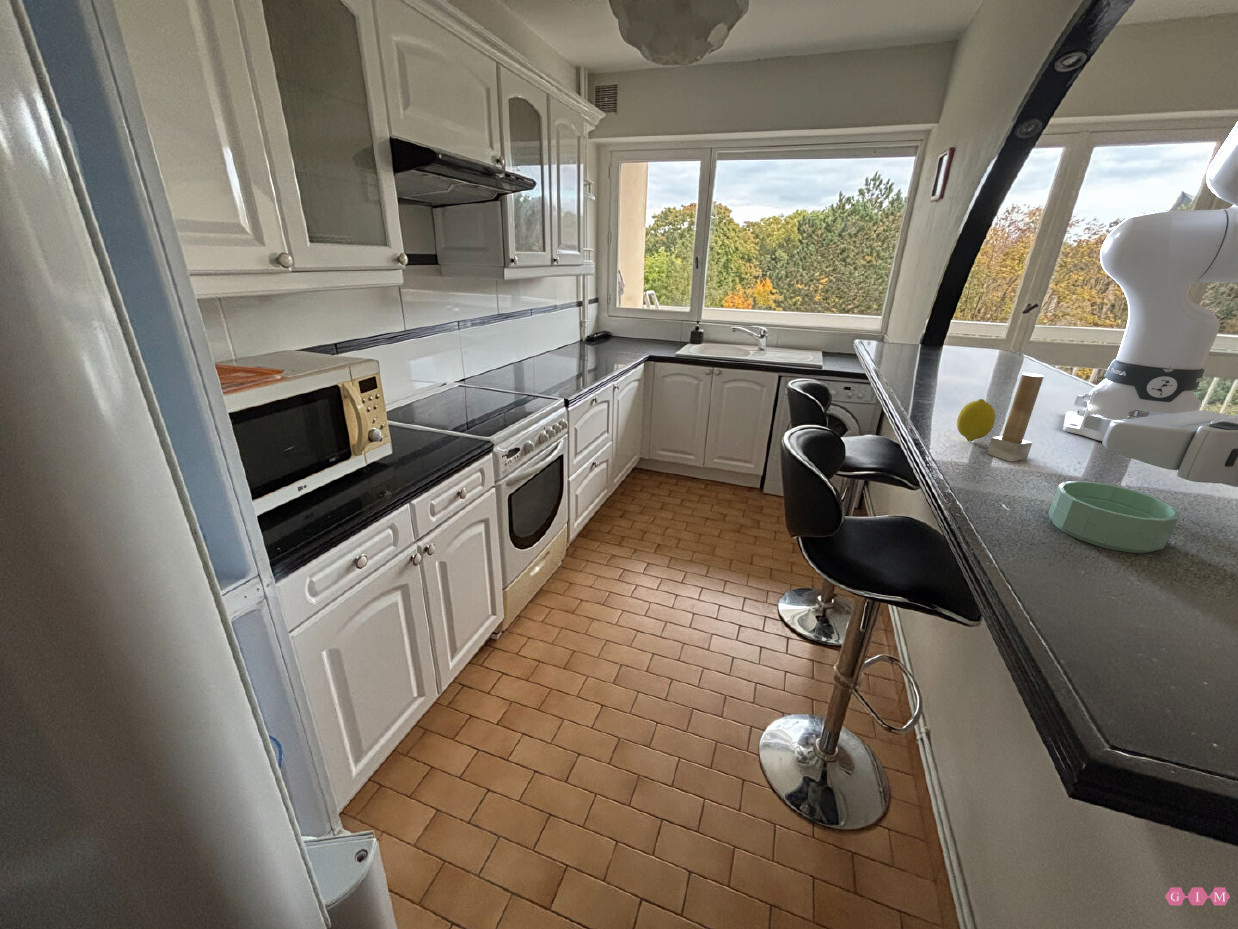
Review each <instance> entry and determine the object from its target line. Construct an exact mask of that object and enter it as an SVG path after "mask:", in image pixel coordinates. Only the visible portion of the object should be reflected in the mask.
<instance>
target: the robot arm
mask: <svg viewBox="0 0 1238 929" xmlns="http://www.w3.org/2000/svg"><path fill="white" fill-rule="evenodd" d="M1205 180H1206V184H1207V187H1208V189H1210V190H1209V191H1211V193H1213V194H1214V195H1215V196H1216V197H1217V198H1219V199H1221V200H1222V201H1224V202H1226V203H1229V204H1230V205H1232V206H1230V207H1227V208H1221V209H1191V210H1190V209H1189V210H1188V209H1187V210H1185V209H1184V210H1163V211H1157V212H1150V213H1145V214H1140V215H1135V216H1130V217H1128V218H1125V219H1124V220H1123V221H1121V222H1120V223H1119V224H1117V225H1116V227H1114V228H1113V229H1112V230H1111V232H1110V233H1109V234H1108V235H1107V236H1106V238H1105V240H1104V241H1103V244H1102V246H1101V249H1100V253H1099V257H1100V264H1101V267H1102V269H1103V271H1104V272H1105V273H1106V274H1107V275H1108V276H1109V277H1111V278H1112V279H1113V281H1115V282H1116V283H1117V284H1118V286H1120V288H1121V289H1122V292H1123V293H1124V296H1125V298H1126V301H1127V307H1128V308H1127V309H1128V316H1127V323H1126V327H1125V330H1124V335H1123V338H1122V340H1121V344H1120V346H1119V349H1118V352H1117V355H1116V358H1114V359H1113V360H1112V361H1111V363H1110V365H1109V366H1107V368H1106V372H1105V374H1104V376H1103V377H1104V379H1103V380H1102V381H1101V382H1099V383H1098V384H1097V385H1096V386H1094V388H1092V389H1091V390H1090V391H1089V392H1088V393H1084V394H1077V395H1076V397H1075V401H1074V405H1073V406H1074V407H1079V409H1078V410H1077V411H1067V412H1066V414H1065V415H1064V420H1063V425H1062V431H1064V432H1068V433H1072V434H1074V435H1075V434H1076V435H1080V436H1083V437H1087V438H1090V439H1093V440H1096V441H1100V442H1102V446H1103V447H1104V448H1106V450H1109V451H1110V452H1113V453H1115V454H1118V455H1121V456H1124V457H1127V458H1129V459H1132V460H1136V461H1139V462H1142V463H1145V464H1147V465H1151V466H1154V467H1158V468H1160V469H1164V470H1165V469H1166V470H1171V471H1177V473H1176V476H1177V477H1178V478H1180V479H1182V480H1183V479H1184V480H1187V481H1189V482H1194V483H1202V484H1203V483H1204V484H1222V485H1226V486H1228V487H1233V488H1238V413H1236V414H1234V415H1229V414H1225V413H1221V412H1215V411H1210V410H1201V407H1202V401H1201V400H1200V399H1199V398H1198V397H1197V396H1196V395H1195V393H1194V392H1195V390H1197V389H1198V388H1199V386H1200V383H1201V382H1202V381H1203V378H1204V373H1205V369H1204V368H1203V367H1204V366H1205V363H1206V360H1207V359H1208V356H1209V353H1210V352H1211V349H1212V347H1213V345H1214V342H1215V340H1216V338H1217V336H1218V334H1219V332H1220V327H1221V326H1220V324H1221V323H1220V320H1219V318H1218V317H1217V315H1216V314H1214V313H1213V312H1212V311H1211V310H1209V309H1207V308H1206V307H1203V306H1202V305H1200V304H1198V303H1195V302H1193V301H1191V300H1190V298H1189V296H1188V287H1189V285H1190V283H1226V284H1238V121H1237V122H1236V123H1235V125H1234V127H1233V128H1232V130H1231V131H1230V133H1229V135H1228V136H1227V137H1226V139H1225V141H1224V142H1223V144H1222V145H1221V147H1220V149H1218V152H1217V153H1216V155H1215V157H1214V158H1213V160H1212V161H1211V163H1210V164H1209V166H1208V168H1207V172H1206V178H1205Z"/></svg>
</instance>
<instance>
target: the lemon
mask: <svg viewBox="0 0 1238 929" xmlns="http://www.w3.org/2000/svg"><path fill="white" fill-rule="evenodd" d="M995 422H996V412H995V409H994V407H993V406H992V405H991V404H990V403H989V402H987V401H986V400H985V399H983V398H979V399H977V400H972V401H970V402H968V403H967V404H965V405H964V406H963V407H962V408H961V410H960V412H959V413H958V416H957V419H956V428H957V431H958V432H959V434H960V435H961V436H962V437H964V438H965V439H966V441H968V442H973V441H975V440H979V439H981V438H985V437H986V436H988V435H989V434H990V432H991V431H992V429H993V428H994V425H995Z"/></svg>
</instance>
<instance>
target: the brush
mask: <svg viewBox="0 0 1238 929" xmlns="http://www.w3.org/2000/svg"><path fill="white" fill-rule="evenodd" d="M1044 378H1045V375H1043V374H1040V373H1032V372H1031V373H1030V372H1023V373H1021V376H1020V379H1019V381H1018V386H1017V388H1016V392H1015V395H1014V398H1013V402H1012V404H1011V408H1010V411H1009V413H1008V416H1007V420H1006V424H1005V426H1004V429H1003V433H1002V435H1000V436H993V437H991V439H990V443H989V446H988V449H987V452H986V455H988V456H989V455H990V456H992V457H996V458H998V459H1001V460H1004V461H1007V462H1010V463H1012V462H1017V461H1024V460H1027V459H1028V457H1029V455H1030V451H1031V449H1032V445H1033V442H1032V441H1029V440H1026V439H1024V438H1025V434H1026V432H1027V429H1028V425H1029V422H1030V420H1031V417H1032V414H1033V411H1034V408H1035V405H1036V401H1037V399H1038V396H1039V394H1040V389H1041V386H1042V383H1043V381H1044Z"/></svg>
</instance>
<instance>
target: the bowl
mask: <svg viewBox="0 0 1238 929" xmlns="http://www.w3.org/2000/svg"><path fill="white" fill-rule="evenodd" d="M1047 514H1048V516H1049V519H1050V521H1051V522H1052V524H1053V525H1054V526H1055V527H1056V528H1057V529H1059V530H1060V531H1061V532H1063V533H1065V534H1067V535H1069V536H1071V537H1073V538H1075V539H1077V540H1080V541H1083V542H1085V543H1088V544H1090V545H1094V546H1097V547H1101V548H1105V549H1108V550H1113V551H1119V552H1124V553H1132V554H1148V553H1152V552H1155V551H1158V550H1163V549H1165V547H1166V545H1167V543H1168V541H1169V539H1170V537H1171V535H1172V533H1173V530H1174V529H1175V526H1176V524H1177V523H1178V520H1179V518H1180V516H1181V512H1180V511H1179V510H1178V509H1177V508H1176V507H1175V506H1174V505H1172V504H1171V503H1168V502H1166V501H1165V500H1162V499H1160V498H1159V497H1155V496H1153V495H1150V494H1147V493H1144V492H1141V491H1138V490H1134V489H1131V488H1127V487H1122V486H1119V485H1116V484H1115V485H1114V484H1109V483H1102V482H1097V481H1086V480H1070V481H1063V482H1061V483H1060V484H1059V485H1057V489H1056V491H1055V494H1054V496H1053V498H1052V502H1051V504H1050V507H1049V510H1048V513H1047Z"/></svg>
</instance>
